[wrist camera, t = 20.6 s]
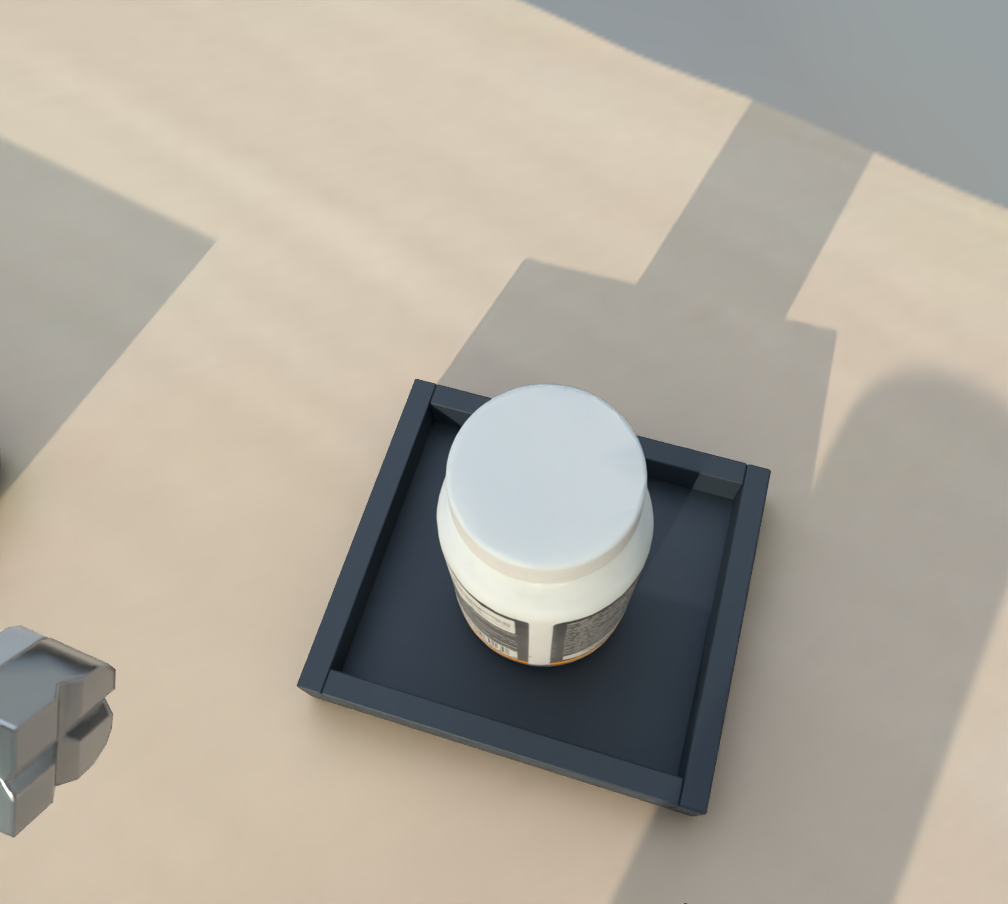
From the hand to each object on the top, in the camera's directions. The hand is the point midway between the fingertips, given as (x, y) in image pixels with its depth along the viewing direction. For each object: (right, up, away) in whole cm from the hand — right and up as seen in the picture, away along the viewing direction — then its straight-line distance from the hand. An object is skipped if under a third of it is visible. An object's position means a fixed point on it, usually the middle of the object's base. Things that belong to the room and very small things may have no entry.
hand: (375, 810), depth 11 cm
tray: (+3, 0, +18) cm, 18 cm away
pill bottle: (+3, 0, +18) cm, 18 cm away
